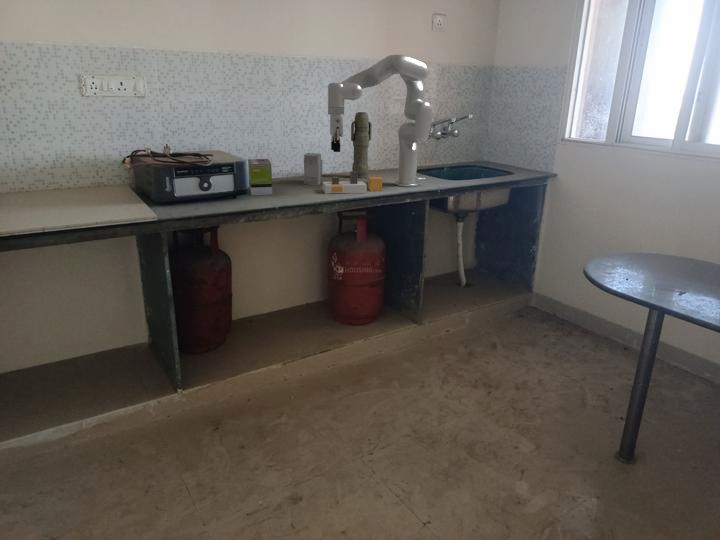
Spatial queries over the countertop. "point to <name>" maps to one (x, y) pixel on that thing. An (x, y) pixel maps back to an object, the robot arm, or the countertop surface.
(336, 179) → the tagged toggle
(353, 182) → the plain toggle
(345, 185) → the breaker panel
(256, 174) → the tea box
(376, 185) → the orange cube
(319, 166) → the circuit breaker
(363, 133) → the thermos
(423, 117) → the robot arm
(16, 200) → the countertop surface
